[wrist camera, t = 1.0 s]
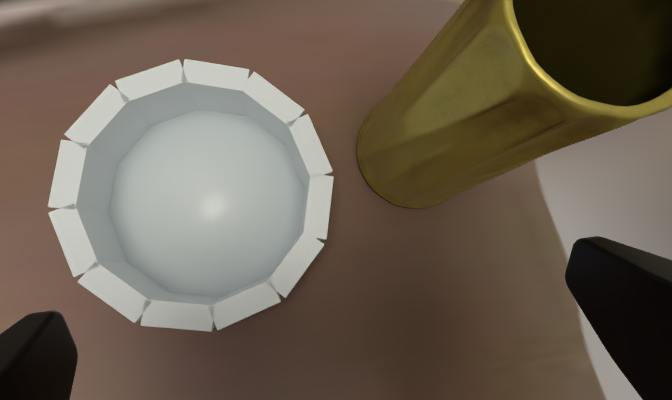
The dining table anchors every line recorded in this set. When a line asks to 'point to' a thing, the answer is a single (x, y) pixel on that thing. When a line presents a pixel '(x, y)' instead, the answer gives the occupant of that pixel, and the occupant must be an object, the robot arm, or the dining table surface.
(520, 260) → the dining table surface
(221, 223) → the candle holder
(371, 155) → the vase
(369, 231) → the dining table surface
